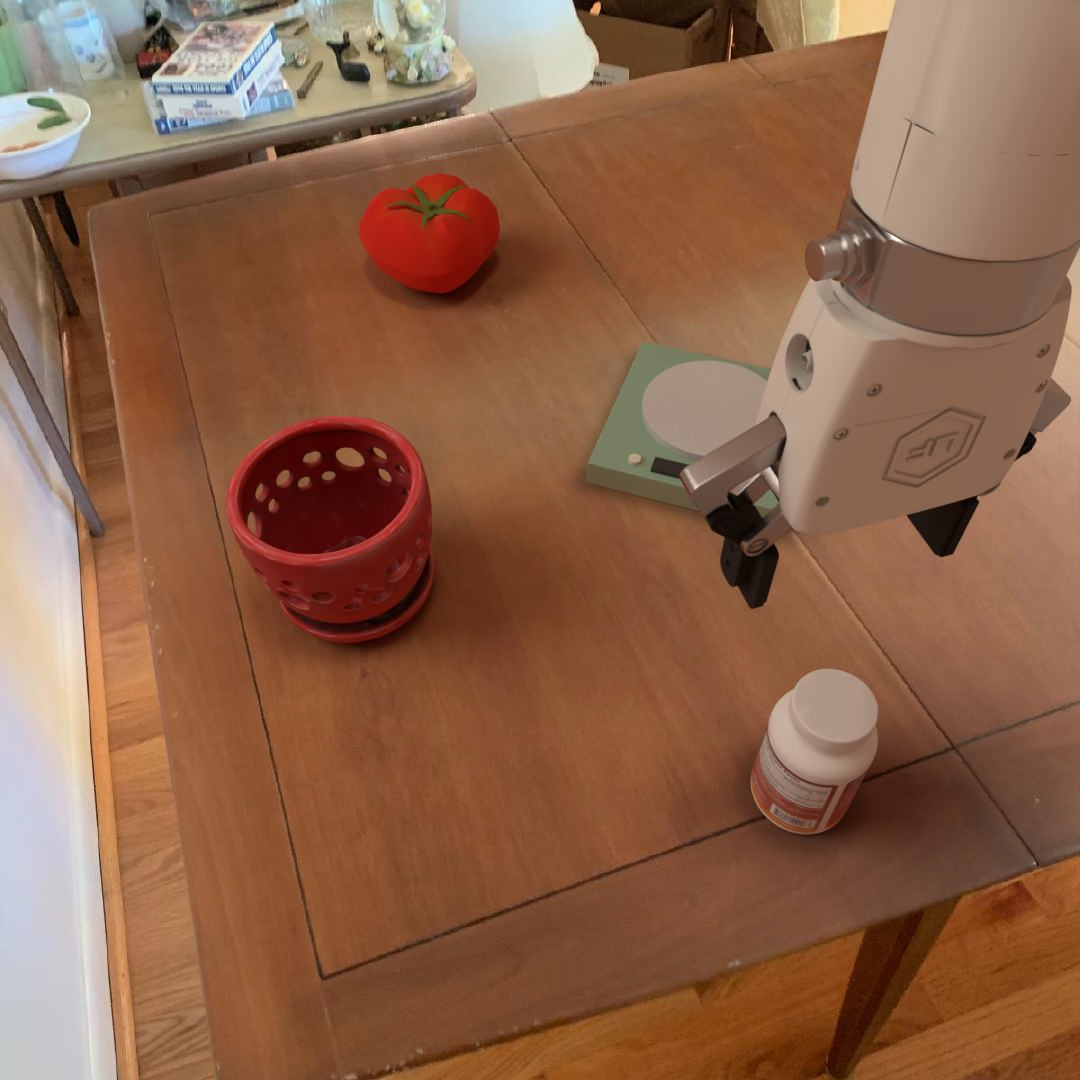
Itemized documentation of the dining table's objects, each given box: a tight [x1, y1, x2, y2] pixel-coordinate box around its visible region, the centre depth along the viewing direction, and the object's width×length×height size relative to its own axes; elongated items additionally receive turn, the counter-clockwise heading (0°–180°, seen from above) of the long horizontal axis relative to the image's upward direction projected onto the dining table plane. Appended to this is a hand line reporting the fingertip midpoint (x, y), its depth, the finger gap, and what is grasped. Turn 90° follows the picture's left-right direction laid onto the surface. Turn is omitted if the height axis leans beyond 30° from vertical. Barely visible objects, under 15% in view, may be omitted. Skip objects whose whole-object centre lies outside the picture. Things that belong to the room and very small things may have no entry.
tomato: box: [358, 172, 501, 294], centre depth 94 cm, size 14×13×9 cm
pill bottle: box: [750, 668, 879, 835], centre depth 58 cm, size 6×6×11 cm
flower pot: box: [225, 415, 436, 644], centre depth 68 cm, size 13×13×12 cm
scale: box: [586, 341, 780, 518], centre depth 81 cm, size 16×16×3 cm
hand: (837, 558), depth 46 cm, fingers open, 9 cm apart
